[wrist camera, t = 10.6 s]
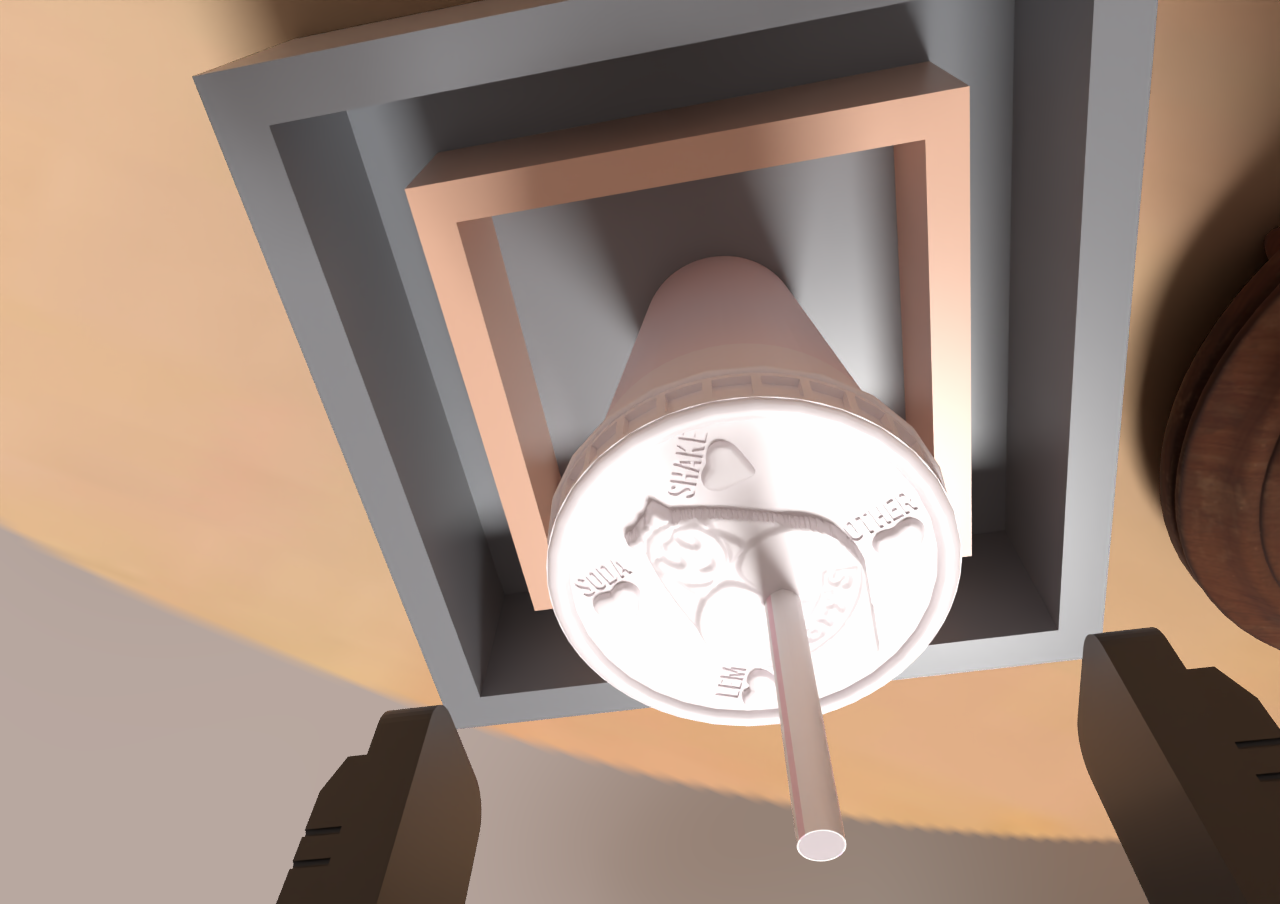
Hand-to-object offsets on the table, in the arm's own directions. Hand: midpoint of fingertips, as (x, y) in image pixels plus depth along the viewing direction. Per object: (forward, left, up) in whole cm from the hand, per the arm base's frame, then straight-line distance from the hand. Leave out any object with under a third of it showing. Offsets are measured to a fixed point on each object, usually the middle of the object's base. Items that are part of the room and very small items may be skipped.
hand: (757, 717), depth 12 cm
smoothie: (0, 0, -13) cm, 13 cm away
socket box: (0, 0, -13) cm, 13 cm away
